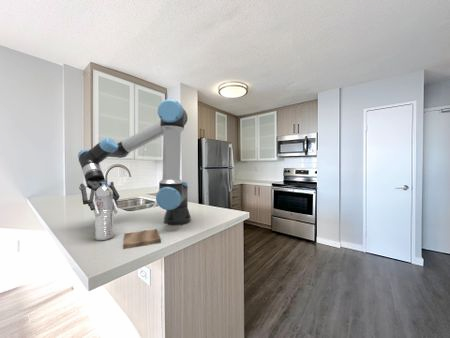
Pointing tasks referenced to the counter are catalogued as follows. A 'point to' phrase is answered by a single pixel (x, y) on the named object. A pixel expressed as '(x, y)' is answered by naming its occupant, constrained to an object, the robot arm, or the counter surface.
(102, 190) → the water bottle
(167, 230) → the counter surface
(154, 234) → the walnut board
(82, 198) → the robot arm
